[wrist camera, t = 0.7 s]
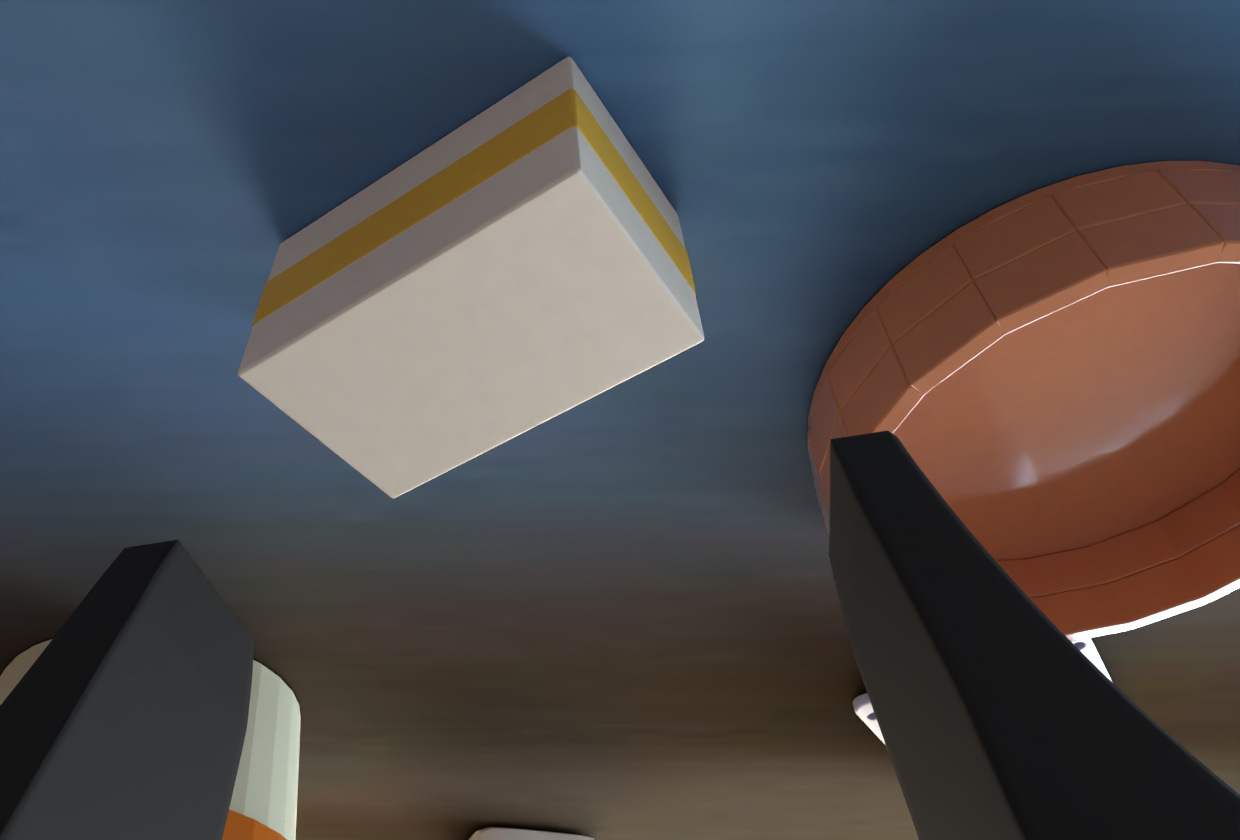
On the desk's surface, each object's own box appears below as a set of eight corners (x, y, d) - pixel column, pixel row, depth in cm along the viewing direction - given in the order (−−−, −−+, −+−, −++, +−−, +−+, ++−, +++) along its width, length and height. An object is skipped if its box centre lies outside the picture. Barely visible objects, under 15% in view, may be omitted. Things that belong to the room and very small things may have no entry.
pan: (1364, 438, 26) (1441, 524, 24) (907, 610, 30) (937, 697, 28) (1336, 35, 18) (1448, 109, 16) (715, 347, 22) (736, 440, 20)
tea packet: (680, 215, 19) (708, 341, 16) (410, 367, 22) (393, 501, 19) (570, 51, 17) (579, 165, 14) (276, 243, 19) (233, 375, 16)
